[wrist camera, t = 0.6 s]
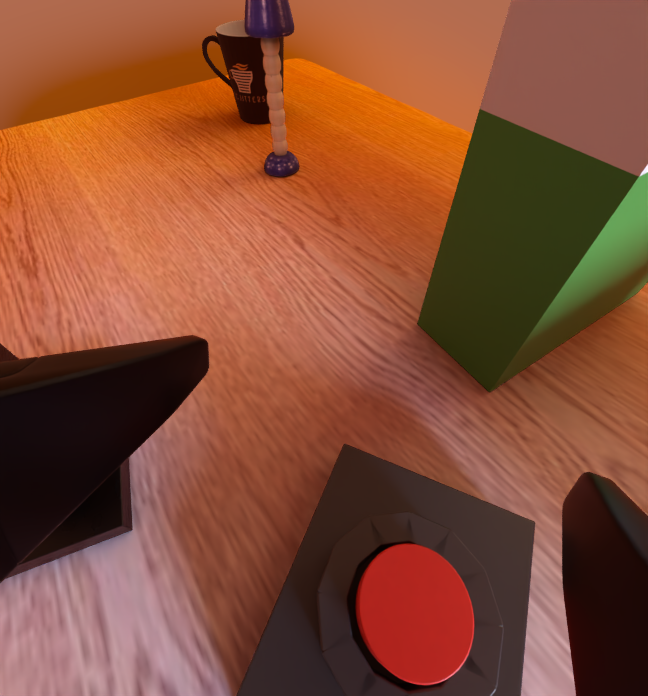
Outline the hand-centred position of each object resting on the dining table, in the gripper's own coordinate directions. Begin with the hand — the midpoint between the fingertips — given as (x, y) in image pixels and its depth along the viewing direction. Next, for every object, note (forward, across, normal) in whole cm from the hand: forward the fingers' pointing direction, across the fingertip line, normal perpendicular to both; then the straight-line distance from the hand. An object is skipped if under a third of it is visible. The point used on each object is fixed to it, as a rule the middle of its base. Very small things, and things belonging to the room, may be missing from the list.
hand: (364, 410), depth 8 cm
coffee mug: (+49, +34, -8) cm, 60 cm away
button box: (+4, -3, +14) cm, 15 cm away
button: (+2, -3, +10) cm, 11 cm away
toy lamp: (+37, +22, -2) cm, 43 cm away
